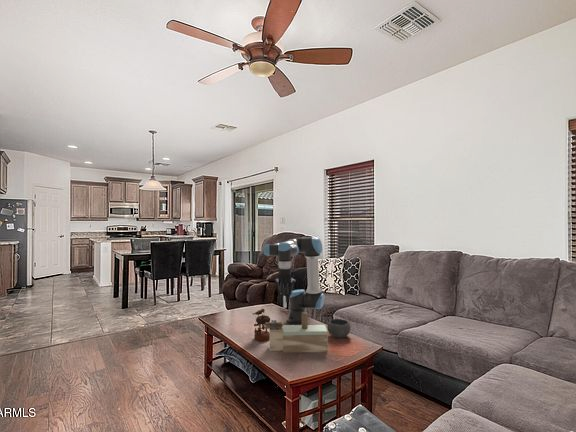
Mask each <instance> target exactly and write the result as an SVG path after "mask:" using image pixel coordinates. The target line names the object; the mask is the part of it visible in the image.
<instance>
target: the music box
mask: <svg viewBox="0 0 576 432" xmlns="http://www.w3.org/2000/svg"><path fill="white" fill-rule="evenodd" d="M265 311H266V310H265V308H261V309H260V310H256V311H255V312H253V313H252V315H253V316H254V315H255V323H254V324H253V327H255V329H254V331H253V332H254V334H253V335H254V341H255V342H258V343H259V342H260V343H265V342H270V331H268V329H265V322H271V317H270V316H269V315H266V314H265Z"/></svg>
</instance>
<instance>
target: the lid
mask: <svg viewBox="0 0 576 432" xmlns="http://www.w3.org/2000/svg"><path fill="white" fill-rule="evenodd" d="M308 315H309V313H308V312H306V311H305V312H302V323H301V324H282V327H283V335H328V334H329V331H328V328H327V327H326V324H308V323H309V322H308V319H309V318H308Z"/></svg>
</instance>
